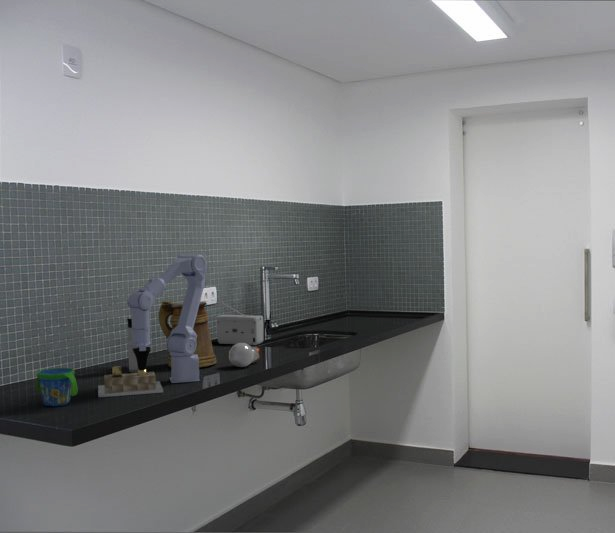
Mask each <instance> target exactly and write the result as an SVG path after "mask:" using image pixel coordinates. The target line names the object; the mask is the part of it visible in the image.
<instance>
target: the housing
mask: <svg viewBox="0 0 615 533" xmlns="http://www.w3.org/2000/svg"><path fill="white" fill-rule="evenodd" d="M121 375H122V377H113V374H104V376H103V378H104V379H103V380H104V383H103V385H105V392H106V391H119V390H132V389H145V388H156V377H157V376H156V374H155V371H147V375H141V376H138V373H132V372H129V373H121Z"/></svg>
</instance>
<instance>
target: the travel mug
mask: <svg viewBox="0 0 615 533" xmlns="http://www.w3.org/2000/svg"><path fill="white" fill-rule="evenodd" d="M126 321H127V347H128V348H127V349H128V372H129V373H138V365H137V360H136V356H135V354H134V352H133V348H138V347H137V346H134V345H129V342H132V318H127V319H126Z"/></svg>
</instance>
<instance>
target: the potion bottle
mask: <svg viewBox="0 0 615 533" xmlns="http://www.w3.org/2000/svg"><path fill="white" fill-rule="evenodd" d="M261 358H262V354H261V351H260V347H258V346H252V345H248V344H246V343H237V344H233V345H232V347H231V348H230V349H229V351H228V359H229V362H230V363H231V365H233V366H234V367H236V368H243V367H244V368H246V367H247V366H249V365H250V364H251V365H252V364H253V363H255V362H257V361H259V360H260V359H261Z"/></svg>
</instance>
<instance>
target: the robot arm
mask: <svg viewBox="0 0 615 533" xmlns="http://www.w3.org/2000/svg"><path fill="white" fill-rule="evenodd" d="M208 264H209V263H208V262H207V260H206V259H205V257H204V255H202V254H182V253H181V254H179V255H178V256H177V257H176V258H174V259H173V262H172V264H170V265H169V267H167V269H166V270H164V272H162V274H161V275H160V276H159V277H150V278H149V279H148V282H147V283H146V284H144V285H143V286H141V287H139V289H138V291H133V292H132V293H131V294H130V295H129V297H128V300H127V301H126V303H127V307H128V308H129V310H130V314H131V319H132V342H129V345H134V346H137V347H138V348H133V352H134V354H135V356H136V360H137V365H138V369H139V370H145V369H147V365H148V364H147V362H148V358H149V355H150V352H151V346H149V345H151V344H152V341H151V328H150V327H151V326H150V325H151V322H150V321H151V320H150V309H151V308H152V307H153V305H154V302H155V300H156V299H157V298H158V297H160V295H162V293H164V292H165V291H166V285H168V284H169V283H170V282H171V281H173V280H174V279H175V278H177V277H178V276H179V275H180V274H181V275H182V277H184V279H186V281H187V283H188V284H187V287H186V288H187V289H186V292H185V296H184V300H183V302H182V303H183V307H182V311H181V314H180V318H179V322H178V326H177V327H175V328H174V329H173V330H172V331H171V334H170V336H169V337H168V339H167V338H166V342H165V348H166V350H167V352H169V355H171V367H170V369H171V371H170V372H171V377H169V380H170V382H171V384H179V383H192V382H200V367H199V359H198V355H197V354H194V355H193V353H194V352H195V350H196V346H197V343H196V339H197V334H196V333H195V332H194V330H193V327H194V323H195V320H196V316H197V312H198V308H199V304H200V302H201V300H202V297H203V296H202V295H203V293H204V292H203V291H204V288H205V284H206V271H207V269H208ZM185 336H186V337H185Z"/></svg>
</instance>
